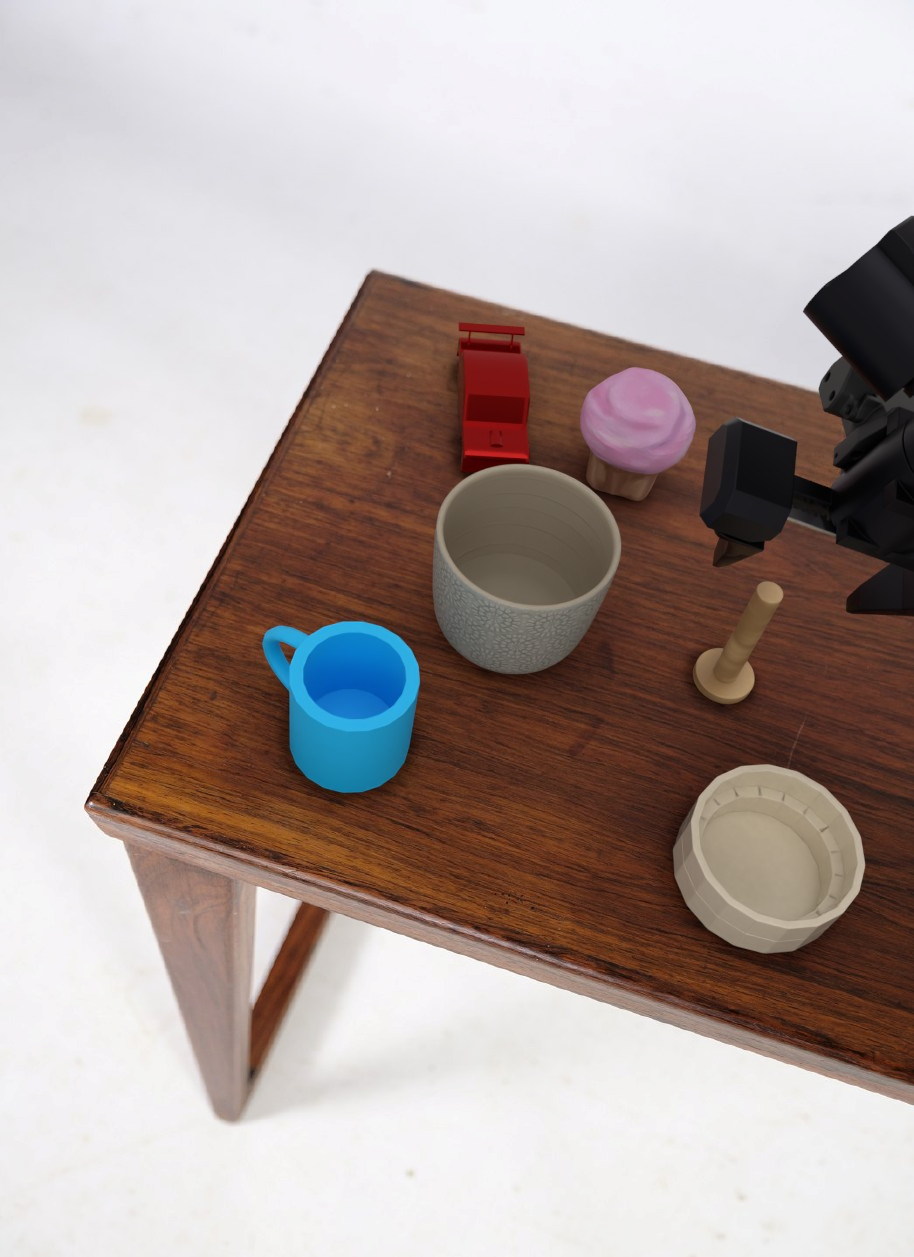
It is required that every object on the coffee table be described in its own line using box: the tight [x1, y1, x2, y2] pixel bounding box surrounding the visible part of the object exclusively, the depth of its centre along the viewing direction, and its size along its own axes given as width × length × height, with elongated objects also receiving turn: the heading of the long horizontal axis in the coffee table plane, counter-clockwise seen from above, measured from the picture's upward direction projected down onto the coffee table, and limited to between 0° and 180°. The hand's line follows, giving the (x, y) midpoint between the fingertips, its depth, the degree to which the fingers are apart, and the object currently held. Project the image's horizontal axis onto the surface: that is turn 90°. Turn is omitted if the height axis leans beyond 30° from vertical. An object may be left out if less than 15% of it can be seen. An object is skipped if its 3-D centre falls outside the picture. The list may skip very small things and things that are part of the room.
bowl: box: [672, 763, 866, 954], centre depth 77 cm, size 11×11×5 cm
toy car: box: [456, 321, 531, 474], centre depth 98 cm, size 14×6×5 cm, turn 1°
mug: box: [262, 621, 421, 794], centre depth 78 cm, size 12×8×8 cm
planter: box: [432, 464, 622, 675], centre depth 83 cm, size 12×12×11 cm
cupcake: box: [579, 366, 697, 502], centre depth 93 cm, size 9×9×10 cm
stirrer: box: [692, 580, 784, 705], centre depth 83 cm, size 4×4×11 cm
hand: (782, 583), depth 73 cm, fingers open, 9 cm apart
